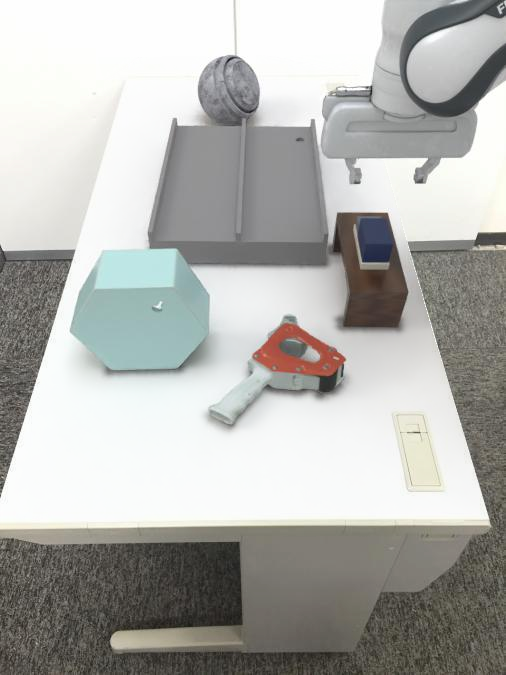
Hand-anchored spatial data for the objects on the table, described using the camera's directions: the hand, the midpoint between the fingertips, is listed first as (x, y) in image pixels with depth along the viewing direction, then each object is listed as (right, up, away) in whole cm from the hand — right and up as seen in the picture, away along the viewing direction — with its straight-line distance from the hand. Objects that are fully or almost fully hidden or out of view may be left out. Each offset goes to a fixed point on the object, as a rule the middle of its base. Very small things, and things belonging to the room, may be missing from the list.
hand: (386, 181), depth 78 cm
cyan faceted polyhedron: (-36, -25, +6) cm, 44 cm away
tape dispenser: (-16, -29, +3) cm, 33 cm away
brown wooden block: (0, -13, +16) cm, 21 cm away
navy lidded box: (0, -8, +10) cm, 13 cm away
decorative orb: (-25, +30, +53) cm, 66 cm away
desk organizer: (-22, +6, +33) cm, 40 cm away
